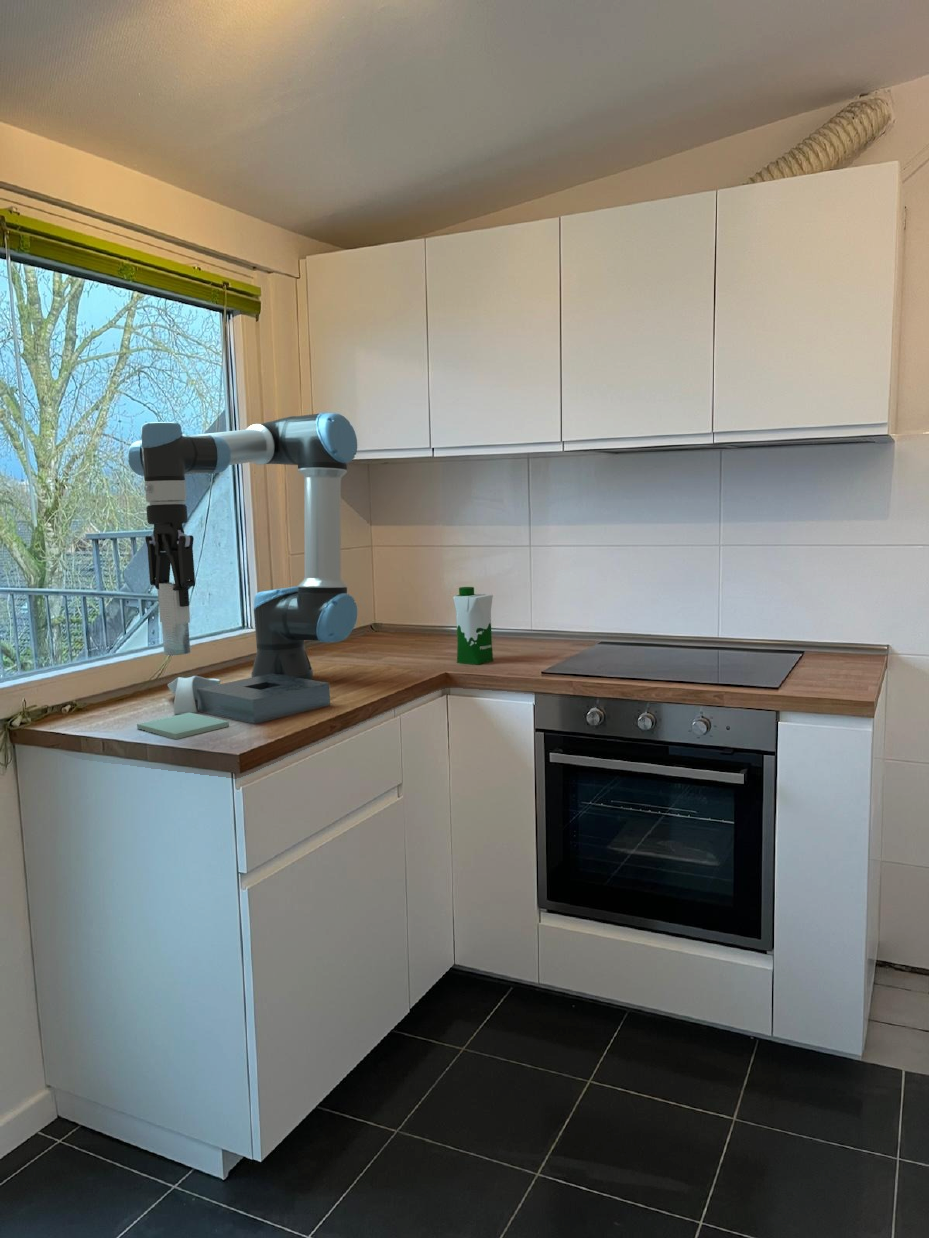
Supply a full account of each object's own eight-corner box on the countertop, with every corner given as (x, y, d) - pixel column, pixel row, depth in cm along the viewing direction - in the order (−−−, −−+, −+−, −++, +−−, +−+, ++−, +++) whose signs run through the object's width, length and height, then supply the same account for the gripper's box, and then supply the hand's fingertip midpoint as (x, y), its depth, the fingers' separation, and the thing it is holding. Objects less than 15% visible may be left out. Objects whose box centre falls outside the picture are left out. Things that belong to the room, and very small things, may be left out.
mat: (137, 728, 185) (137, 724, 185) (189, 716, 194) (189, 712, 194) (175, 739, 176) (175, 734, 176) (228, 726, 185) (228, 721, 185)
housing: (198, 711, 199) (196, 688, 199) (273, 694, 214) (272, 673, 214) (254, 724, 186) (252, 699, 186) (330, 705, 201) (329, 682, 200)
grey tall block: (159, 653, 183) (153, 583, 181) (181, 650, 187) (176, 581, 185) (172, 656, 180) (167, 584, 178) (195, 652, 183) (190, 582, 182)
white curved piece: (172, 694, 219) (170, 665, 218) (223, 691, 221) (221, 661, 220) (158, 717, 196) (155, 684, 195) (215, 713, 198) (212, 680, 197)
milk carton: (471, 658, 254) (469, 585, 252) (498, 660, 249) (496, 586, 246) (451, 663, 247) (449, 588, 245) (479, 666, 242) (476, 590, 239)
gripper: (124, 504, 183) (133, 621, 186) (174, 503, 171) (183, 627, 174) (158, 504, 188) (167, 617, 191) (209, 502, 176) (217, 622, 179)
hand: (175, 621), depth 182 cm, fingers closed on grey tall block, 5 cm apart
